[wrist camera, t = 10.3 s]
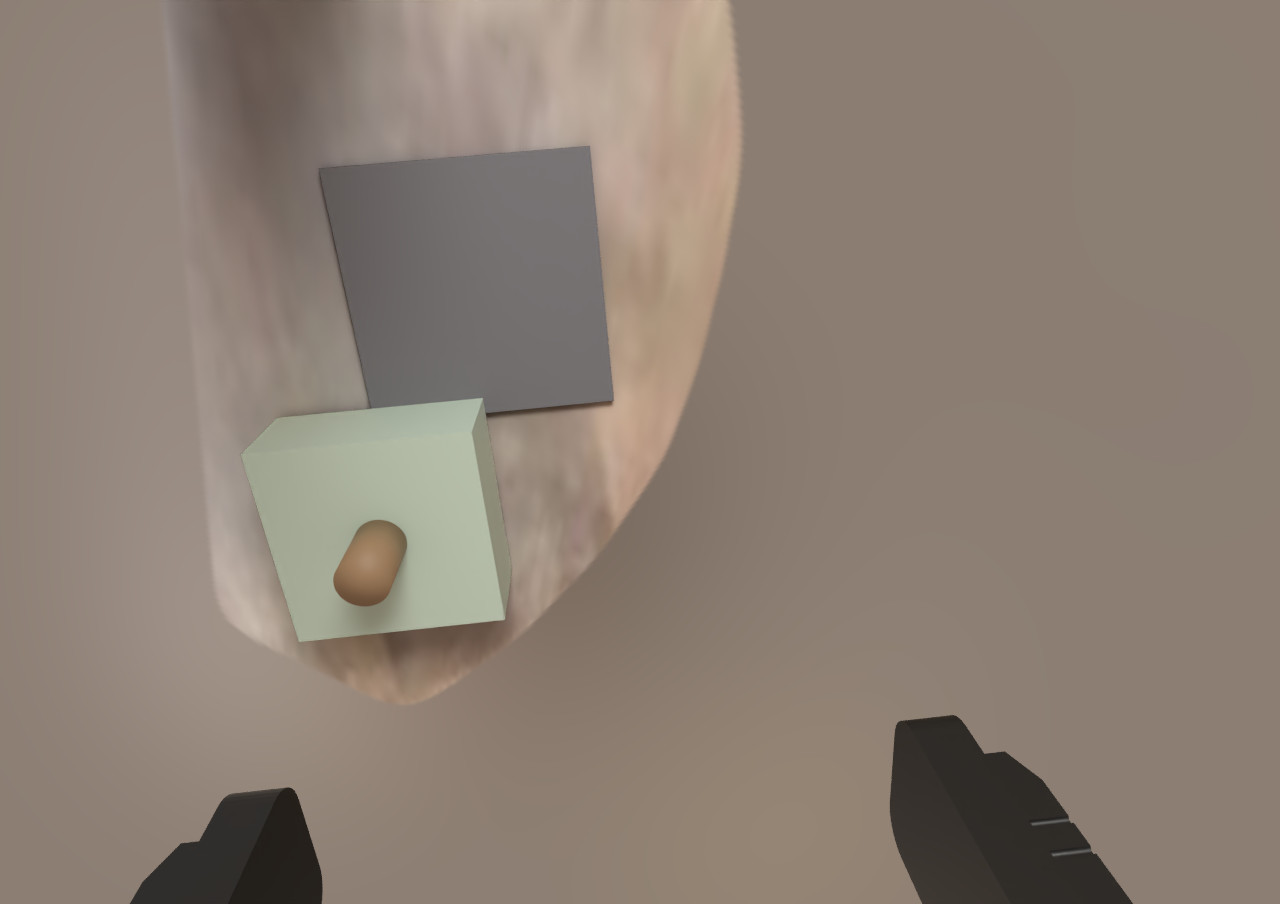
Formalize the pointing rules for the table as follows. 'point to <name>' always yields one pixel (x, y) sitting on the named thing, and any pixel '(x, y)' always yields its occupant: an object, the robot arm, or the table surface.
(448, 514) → the cover
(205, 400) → the table surface
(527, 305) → the mat
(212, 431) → the table surface
